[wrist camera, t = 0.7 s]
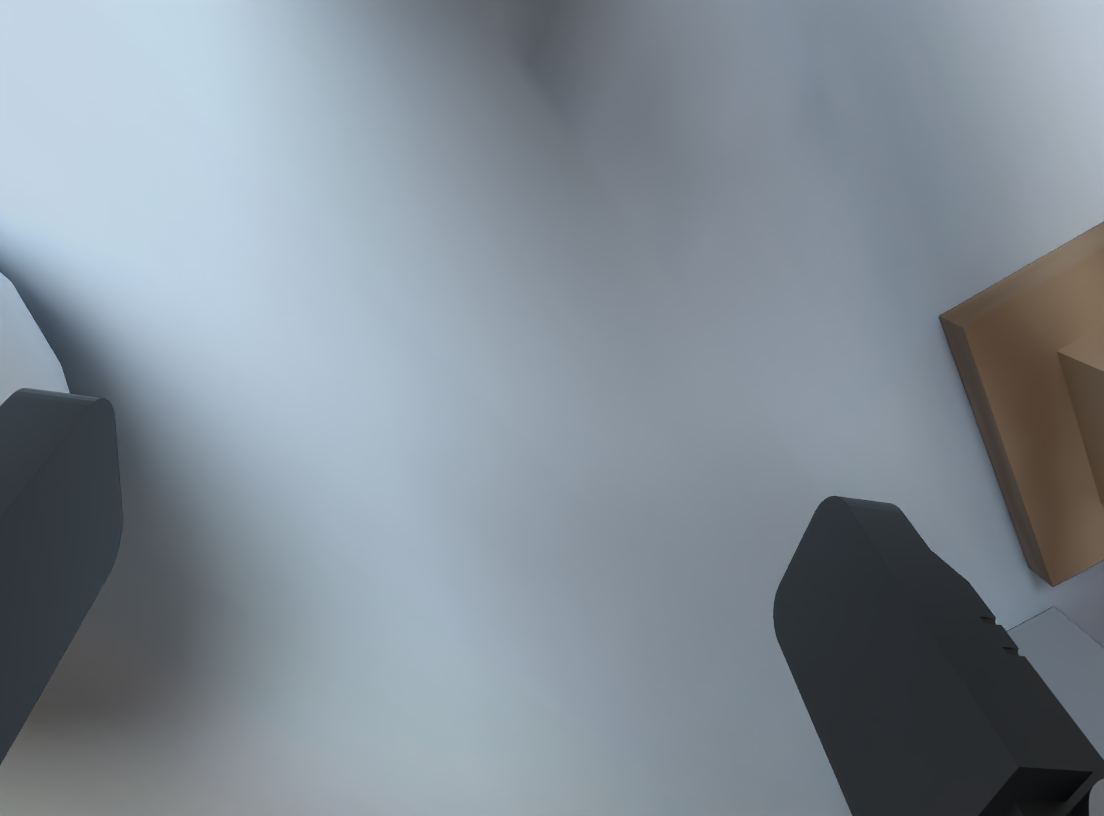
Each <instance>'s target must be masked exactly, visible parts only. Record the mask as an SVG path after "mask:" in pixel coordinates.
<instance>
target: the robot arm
mask: <svg viewBox="0 0 1104 816" xmlns="http://www.w3.org/2000/svg"><path fill="white" fill-rule="evenodd" d="M122 519H123V518H122V502H121V489H120V476H119V463H118V450H117V437H116V424H115V415H114V411H113V408H112V405H111V403H110V402H109V401H108V400H107V399H106V398H100V397H92V396H84V395H77V394H69V393H62V392H54V391H46V390H39V389H31V388H21V389H19V390H17V391H15V392H14V393H13V394H12V395H11V396H10V397H9V398H8V399H7V400H6V401H5V402H4V403H3V404H2V405H1V406H0V765H1V763H2V761H3V759H4V758H5V756H6V754H7V752H8V751H9V749H10V747H11V745H12V744H13V742H14V740H15V738H16V737H17V735H18V733H19V731H20V730H21V728H22V726H23V724H24V723H25V721H26V719H27V717H28V716H29V714H30V712H31V710H32V709H33V707H34V705H35V703H36V702H37V700H38V698H39V696H40V695H41V693H42V691H43V689H44V688H45V686H46V684H47V682H48V681H49V679H50V677H51V675H52V674H53V672H54V670H55V668H56V667H57V665H58V663H59V661H60V660H61V658H62V656H63V654H64V653H65V651H66V649H67V647H68V646H69V644H70V642H71V640H72V638H73V637H74V635H75V633H76V631H77V630H78V628H79V626H80V624H81V623H82V621H83V619H84V617H85V616H86V614H87V612H88V610H89V609H90V607H91V605H92V603H93V602H94V600H95V598H96V596H97V595H98V593H99V591H100V589H101V588H102V586H103V584H104V582H105V581H106V579H107V577H108V575H109V573H110V571H111V569H112V566H113V564H114V561H115V558H116V555H117V552H118V548H119V544H120V538H121V532H122ZM773 619H774V628H775V633H776V637H777V640H778V642H779V645H780V647H781V649H782V652H783V654H784V656H785V659H786V661H787V663H788V666H789V668H790V671H791V673H792V675H793V678H794V680H795V682H796V685H797V687H798V689H799V692H800V694H801V696H802V699H803V701H804V703H805V706H806V708H807V710H808V713H809V715H810V717H811V720H812V722H813V724H814V727H815V729H816V731H817V734H818V736H819V738H820V741H821V743H822V745H823V748H824V750H825V752H826V755H827V757H828V759H829V762H830V764H831V767H832V769H833V771H834V774H835V776H836V778H837V781H838V783H839V785H840V788H841V790H842V792H843V795H844V797H845V799H846V802H847V804H848V806H849V809H850V811H851V813H852V816H1104V760H1103V758H1102V757H1101V756H1100V754H1099V753H1098V752H1097V750H1096V749H1095V748H1094V747H1093V745H1092V744H1091V743H1090V741H1089V740H1088V739H1087V737H1086V736H1085V735H1084V733H1083V732H1082V731H1081V729H1080V728H1079V727H1078V725H1077V724H1076V723H1075V721H1074V720H1073V719H1072V718H1071V716H1070V715H1069V714H1068V712H1067V711H1066V710H1065V708H1064V707H1063V706H1062V704H1061V703H1060V702H1059V700H1058V699H1057V698H1056V696H1055V695H1054V694H1053V693H1052V691H1051V690H1050V689H1049V687H1048V686H1047V685H1046V683H1045V682H1044V681H1043V679H1042V678H1041V677H1040V675H1039V674H1038V673H1037V671H1036V670H1035V669H1034V667H1033V666H1032V665H1031V664H1030V662H1029V661H1028V660H1027V658H1026V657H1025V656H1019V654H1018V649H1019V648H1018V646H1017V645H1016V644H1015V642H1014V641H1013V640H1012V639H1011V637H1010V636H1009V635H1008V633H1007V632H1006V631H1005V629H1004V628H1003V627H1002V625H996V623H995V619H996V617H995V616H994V615H993V613H992V612H991V611H990V610H989V608H988V607H987V606H986V604H985V603H984V602H983V600H982V599H981V598H980V596H979V595H978V594H977V592H976V591H975V590H974V588H973V587H972V586H971V585H970V583H969V582H968V581H967V580H966V579H964V578H963V577H962V576H961V575H960V574H958V573H957V572H956V571H955V570H954V569H953V568H951V567H950V566H949V565H948V564H947V563H945V562H944V561H943V560H942V559H941V558H939V557H938V556H937V555H936V554H935V553H934V552H932V551H931V550H930V549H929V547H928V546H927V545H926V543H925V542H924V541H923V539H922V538H921V536H920V535H919V534H918V532H917V531H916V530H915V528H914V527H913V526H912V524H911V523H910V522H909V520H908V519H907V517H906V516H905V515H904V513H903V512H902V511H901V510H900V509H899V508H898V507H897V506H895V505H893V504H891V503H883V502H876V501H868V500H861V499H853V498H845V497H838V496H831V497H828V498H826V499H825V500H824V501H822V502H821V504H820V505H819V506H818V508H817V509H816V511H815V513H814V515H813V517H812V519H811V521H810V523H809V525H808V527H807V529H806V531H805V533H804V535H803V537H802V540H801V542H800V544H799V546H798V548H797V550H796V552H795V554H794V556H793V558H792V560H791V562H790V564H789V566H788V568H787V570H786V572H785V574H784V576H783V578H782V580H781V582H780V584H779V587H778V589H777V592H776V596H775V601H774V609H773Z"/></svg>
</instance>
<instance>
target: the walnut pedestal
mask: <svg viewBox="0 0 1104 816" xmlns="http://www.w3.org/2000/svg"><path fill="white" fill-rule="evenodd" d="M939 318H940V320H941V323H942V326H943V329H944V332H945V334H946V337H947V340H948V343H949V346H950V348H951V351H952V354H953V357H954V360H955V362H956V365H957V368H958V371H959V374H960V376H961V379H962V382H963V385H964V388H965V390H966V393H967V396H968V399H969V402H970V404H971V407H972V410H973V413H974V415H975V418H976V421H977V424H978V427H979V429H980V432H981V435H982V438H983V441H984V443H985V446H986V449H987V452H988V455H989V457H990V460H991V463H992V466H993V469H994V471H995V474H996V477H997V480H998V483H999V485H1000V488H1001V491H1002V494H1003V497H1004V499H1005V502H1006V505H1007V508H1008V510H1009V513H1010V516H1011V519H1012V522H1013V524H1014V527H1015V530H1016V533H1017V536H1018V538H1019V541H1020V544H1021V547H1022V550H1023V552H1024V555H1025V558H1026V561H1027V564H1028V566H1029V568H1030V569H1031V570H1032V571H1034V572H1035V573H1036V574H1037V575H1039V576H1040V577H1041V578H1042V579H1043V580H1045V581H1046V582H1047V583H1048V584H1050V585H1051V586H1052V587H1054V586H1056V585H1058V584H1060V583H1062V582H1063V581H1065V580H1067V579H1069V578H1071V577H1073V576H1075V575H1077V574H1078V573H1080V572H1082V571H1084V570H1086V569H1088V568H1090V567H1091V566H1093V565H1095V564H1097V563H1099V562H1101V561H1103V560H1104V222H1102V223H1101V224H1099V225H1097V226H1095V227H1094V228H1092V229H1090V230H1089V231H1087V232H1085V233H1083V234H1082V235H1080V236H1078V237H1076V238H1075V239H1073V240H1071V241H1069V242H1068V243H1066V244H1064V245H1062V246H1061V247H1059V248H1057V249H1055V250H1054V251H1052V252H1050V253H1048V254H1047V255H1045V256H1043V257H1041V258H1040V259H1038V260H1036V261H1034V262H1033V263H1031V264H1029V265H1027V266H1026V267H1024V268H1022V269H1020V270H1019V271H1017V272H1015V273H1014V274H1012V275H1010V276H1008V277H1007V278H1005V279H1003V280H1001V281H1000V282H998V283H996V284H994V285H993V286H991V287H989V288H987V289H986V290H984V291H982V292H980V293H979V294H977V295H975V296H973V297H972V298H970V299H968V300H966V301H965V302H963V303H961V304H959V305H958V306H956V307H954V308H952V309H951V310H949V311H947V312H946V313H944V314H942V315H940V316H939Z"/></svg>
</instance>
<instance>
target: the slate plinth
mask: <svg viewBox="0 0 1104 816" xmlns="http://www.w3.org/2000/svg"><path fill="white" fill-rule="evenodd" d="M1007 633H1008V635H1009V636H1010V637H1011V639H1012V640H1013V641H1014V642H1015V644H1016V645H1017V646H1018V648H1019V649H1018V654H1019V656H1025V657H1026V658H1027V660H1028V661H1029V662H1030V664H1031V665H1032V666H1033V667H1034V669H1035V670H1036V671H1037V673H1038V674H1039V675H1040V677H1041V678H1042V679H1043V681H1044V682H1045V683H1046V685H1047V686H1048V687H1049V689H1050V690H1051V691H1052V693H1053V694H1054V695H1055V696H1056V698H1057V699H1058V700H1059V702H1060V703H1061V704H1062V706H1063V707H1064V708H1065V710H1066V711H1067V712H1068V714H1069V715H1070V716H1071V718H1072V719H1073V720H1074V721H1075V723H1076V724H1077V725H1078V727H1079V728H1080V729H1081V731H1082V732H1083V733H1084V735H1085V736H1086V737H1087V739H1088V740H1089V741H1090V743H1091V744H1092V745H1093V747H1094V748H1095V749H1096V750H1097V752H1098V753H1099V754H1100V756H1101V757H1102V758H1103V760H1104V648H1103V647H1102V646H1101V645H1100V644H1098V643H1097V642H1096V641H1095V640H1094V639H1092V638H1091V637H1090V636H1089V635H1088V634H1087V633H1085V632H1084V631H1083V630H1082V629H1081V628H1079V627H1078V626H1077V625H1076V624H1075V623H1073V622H1072V621H1071V620H1070V619H1069V618H1068V617H1066V616H1065V615H1064V614H1063V613H1062V612H1060V611H1059V610H1058V609H1057V608H1056V607H1052V608H1050V609H1048V610H1047V611H1045V612H1043V613H1041V614H1039V615H1037V616H1035V617H1033V618H1032V619H1030V620H1028V621H1026V622H1024V623H1022V624H1020V625H1018V626H1017V627H1015V628H1013V629H1011V630H1009V631H1007Z"/></svg>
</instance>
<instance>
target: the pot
mask: <svg viewBox="0 0 1104 816" xmlns="http://www.w3.org/2000/svg"><path fill="white" fill-rule="evenodd" d="M21 388H31V389H39V390H46V391H54V392H62V393H69V394H70V392H69V389H68V386H67V382H66V379H65V376H64V373H63V369H62V366H61V364H60V362H59V361H58V359H57V357H56V356H55V354H54V352H53V351H52V349H51V347H50V346H49V344H48V342H47V340H46V339H45V337H44V335H43V334H42V332H41V330H40V329H39V327H38V325H37V324H36V322H35V320H34V319H33V317H32V315H31V314H30V312H29V310H28V309H27V307H26V305H25V304H24V302H23V300H22V299H21V297H20V295H19V294H18V292H17V290H16V289H15V287H14V285H13V284H12V282H11V281H10V280H9V279H8V278H6V277H5V276H4V275H3V274H2V273H1V272H0V406H1V405H2V404H3V403H4V402H5V401H6V400H7V399H8V398H9V397H10V396H11V395H12V394H13V393H14V392H15V391H17V390H19V389H21Z"/></svg>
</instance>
